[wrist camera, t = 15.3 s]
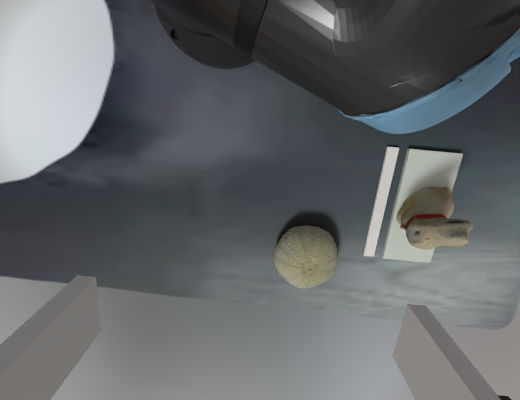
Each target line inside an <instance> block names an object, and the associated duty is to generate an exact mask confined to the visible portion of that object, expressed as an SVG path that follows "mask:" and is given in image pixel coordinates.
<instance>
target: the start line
mask: <svg viewBox="0 0 520 400" xmlns="http://www.w3.org/2000/svg"><path fill="white" fill-rule="evenodd" d="M398 151H399V148H398V147H387V149H386V153H385V158H384V162H383V167H382V171H381V176H380V180H379V185H378V189H377V194H376V198H375V203H374V207H373V212H372V216H371V221H370V225H369V230H368V234H367V239H366V243H365V248H364V252H363V256H372V257H374V253H375V249H376V245H377V241H378V236H379V232H380V228H381V223H382V219H383V215H384V211H385V206H386V202H387V198H388V194H389V189H390V185H391V181H392V177H393V172H394V168H395V164H396V160H397V155H398Z"/></svg>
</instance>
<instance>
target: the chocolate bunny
mask: <svg viewBox="0 0 520 400" xmlns="http://www.w3.org/2000/svg"><path fill="white" fill-rule="evenodd" d="M453 210H454V201H453V198H452V192H451V190H450V189H449V188H447V187H442V188H439V187H427V188H425V189H423V190H421V191H419V192H417V193H414V194H413V195H412V196H411V197H409V198H408V199H407V200H406V201H405V202H404V203H403V205H402V207H401V208H400V209H399V211H398V213H397V221H398V223H399V224H400V228H401V229H404V230H405V231H406V237H407V239H408V241H409V243H410V244H411V245H412V246H414V247H416V248H420V249H423V250H430V249H433V248H436V247H439V246H456V247H457V246H464V245H466V244H467V243H468V242H469V233H470V231H471V230H472V228H473V227H474V225H473V224H472V223H471V222H469V221H467V220H462V219H448V218H449V217H450V216H451V214H452V213H453Z"/></svg>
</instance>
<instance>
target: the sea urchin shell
mask: <svg viewBox="0 0 520 400" xmlns="http://www.w3.org/2000/svg"><path fill="white" fill-rule="evenodd" d="M337 263H338V254H337V246H336V244H335V242H334V239H333V237H332V236H331V235H330V233H329V232H328V231H326V230H323V229H321V228H319V227H316V226H307V225H304V226H295V227H293V228H291V229H289V230H288V231H287V232H286V233H285V234H284V235H283V236H282V238H281V239H280V241H279V242H278V244H277V245H276V247H275V253H274V264H275V266H276V268H277V270H278V271H279V274H280V275H282V276H283V277H284V278H285V279H286V280H287V281H288V282H289V283H291V284H292V285H294V286H296V287H298V288H303V289H304V288H310V287H315V286H317V285H319V284H322V283H324V282H325V281H326V280H328V279H329V278H330V277H332V276H333V274H334V272H335V271H336V268H337Z"/></svg>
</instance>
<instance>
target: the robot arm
mask: <svg viewBox="0 0 520 400" xmlns="http://www.w3.org/2000/svg"><path fill="white" fill-rule="evenodd" d="M151 1H152V2H153V3H154V5H155V8H156V12H157V14H158V17H159V19H160V21H161V24H162V26H163V27H164V29H165V31H166V32H167V34H168V35H169V37H170V38H171V39H172V41H173V42H174V43H175V44H176V45H177V46H178V47H179V48H180V49H181V50H182V51H183V52H184V53H186V54H187V55H189V56H190V57H191V58H193V59H194V60H196V61H198V62H200V63H202V64H204V65H207V66H210V67H214V68H220V69H232V68H238V67H242V66H245V65H248V64H250V63H252V62H254V61H257V62H259V63H261V64H262V65H264V66H266V67H268V68H269V69H271V70H273V71H274V72H276V73H278V74H280V75H281V76H283V77H285V78H286V79H288V80H290V81H292V82H293V83H295V84H297V85H298V86H300V87H302V88H304V89H305V90H307V91H309V92H310V93H312V94H314V95H316V96H317V97H319V98H321V99H322V100H324V101H326V102H328V103H329V104H331V105H333V106H334V107H336V108H337V110H338V111H339V112H340V113H341V114H343V115H344V116H346V117H350V118H352V119H355V120H360V121H362V122H364V123H366V124H368V125H370V126H372V127H373V128H375V129H377V130H379V131H382V132H387V133H392V134H404V133H411V132H415V131H419V130H423V129H425V128H428V127H431V126H433V125H436V124H438V123H440V122H442V121H444V120H446V119H448V118H450V117H452V116H453V115H455V114H457V113H458V112H460V111H462V110H463V109H465V108H466V107H468V106H469V105H471V104H472V103H474V102H475V101H477V100H478V99H479V98H481V97H482V96H483V95H484V94H486V93H487V92H488V91H489V90H491V89H492V88H493V87H494V86H495V85H496V84H498V83H499V82H500V81H501V80H502V79H503V78H504V77H505V76H506V75H507V74H508V73H509V72H510V71H511V67H510V64H509V63H510V62H512V61H513V60H514V59H516V58H518V57H520V0H151ZM100 331H101V326H100V315H99V305H98V295H97V284H96V277H90V276H79V275H77V276H76V277H75V278H74V279H73V280H72V281H71V282H70V283H68V284H67V285H66V286H65V287H64V288H63V289H62V290H61V291H60V292H58V293H57V294H56V295H55V296H54V297H53V298H52V299H51V300H50V301H49V302H47V303H46V304H45V305H44V306H43V307H42V308H41V309H40V310H38V311H37V312H36V313H35V314H34V315H33V316H32V317H31V318H30V319H29V320H27V321H26V322H25V323H24V324H23V325H22V326H21V327H20V328H19V329H17V330H16V331H15V332H14V333H13V334H12V335H11V336H10V337H8V338H7V339H6V340H5V341H4V342H3V343H2V344H1V345H0V400H50V399H51V398H52V397H53V395H54V394H55V392H56V391H57V390H58V389H59V387H60V386H61V384H62V383H63V382H64V380H65V379H66V378H67V376H68V375H69V374H70V372H71V371H72V369H73V368H74V367H75V365H76V364H77V363H78V361H79V360H80V359H81V357H82V356H83V354H84V353H85V352H86V350H87V349H88V348H89V346H90V345H91V343H92V342H93V341H94V339H95V338H96V337H97V335H98V334H99V333H100ZM393 357H394V359H395V361H396V363H397V365H398V367H399V369H400V371H401V373H402V375H403V377H404V379H405V381H406V383H407V385H408V387H409V389H410V390H411V392H412V394H413V396H414V398H415V400H511V399H510V398H509V397H508V396H499V395H497V394H496V393H495V392H494V391H493V389H492V388H491V387H490V386H489V384H488V383H487V382H486V381H485V379H484V378H483V377H482V376H481V375H480V373H479V372H478V371H477V369H476V368H475V367H474V366H473V365H472V363H471V362H470V361H469V360H468V358H467V357H466V356H465V354H464V353H463V352H462V351H461V349H460V348H459V347H458V346H457V345H456V343H455V342H454V341H453V339H452V338H451V337H450V336H449V335H448V333H447V332H446V331H445V330H444V328H443V327H442V326H441V325H440V323H439V322H438V321H437V320H436V318H435V317H434V316H433V315H432V313H431V312H430V311H429V310H428V308H427V307H426V306H421V305H410V304H408V305H407V308H406V311H405V315H404V318H403V322H402V325H401V329H400V332H399V336H398V339H397V342H396V346H395V350H394V353H393Z"/></svg>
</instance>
